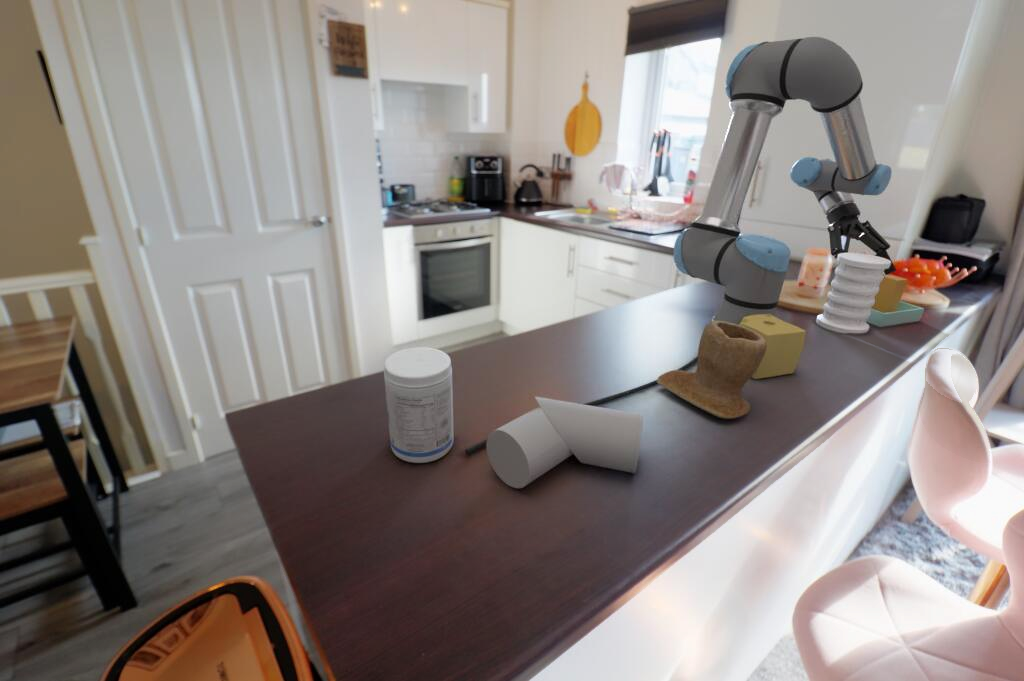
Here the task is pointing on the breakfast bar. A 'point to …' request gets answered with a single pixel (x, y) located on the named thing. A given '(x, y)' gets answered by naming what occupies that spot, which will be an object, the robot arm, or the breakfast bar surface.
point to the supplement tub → (419, 403)
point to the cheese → (776, 344)
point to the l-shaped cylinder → (564, 440)
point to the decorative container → (852, 292)
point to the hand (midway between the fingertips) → (874, 274)
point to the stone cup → (719, 370)
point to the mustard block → (889, 294)
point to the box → (896, 315)
